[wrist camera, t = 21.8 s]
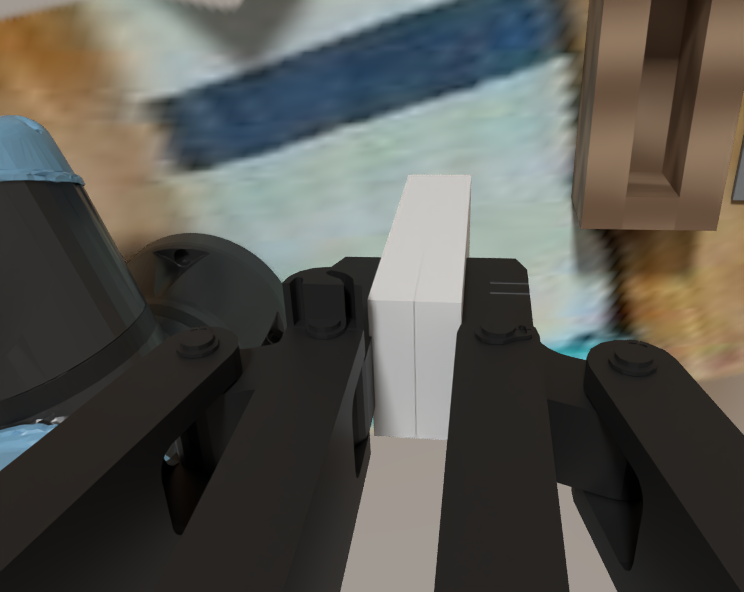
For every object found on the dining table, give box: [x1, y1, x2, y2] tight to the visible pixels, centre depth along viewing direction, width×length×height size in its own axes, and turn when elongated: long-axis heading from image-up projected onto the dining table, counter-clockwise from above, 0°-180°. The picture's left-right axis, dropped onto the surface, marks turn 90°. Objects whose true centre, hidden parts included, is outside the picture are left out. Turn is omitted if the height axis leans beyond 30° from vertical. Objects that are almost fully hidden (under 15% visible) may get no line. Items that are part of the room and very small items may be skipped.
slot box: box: [571, 0, 744, 231], centre depth 43 cm, size 16×8×6 cm, turn 2°
